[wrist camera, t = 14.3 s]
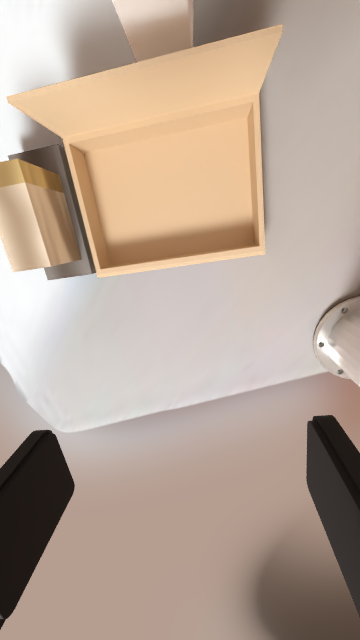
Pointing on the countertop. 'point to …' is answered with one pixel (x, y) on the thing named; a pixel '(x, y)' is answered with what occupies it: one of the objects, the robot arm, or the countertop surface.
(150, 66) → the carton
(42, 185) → the block
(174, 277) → the countertop surface
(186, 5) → the milk
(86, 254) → the block
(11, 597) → the robot arm
